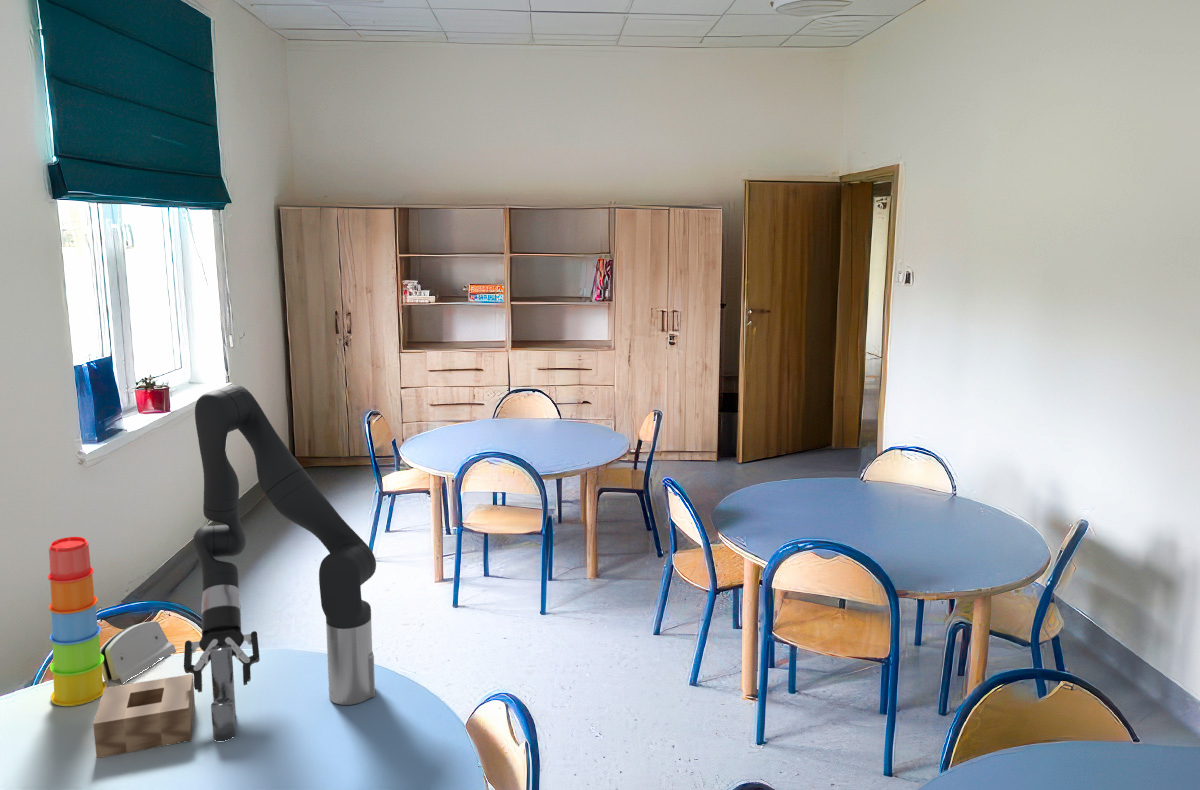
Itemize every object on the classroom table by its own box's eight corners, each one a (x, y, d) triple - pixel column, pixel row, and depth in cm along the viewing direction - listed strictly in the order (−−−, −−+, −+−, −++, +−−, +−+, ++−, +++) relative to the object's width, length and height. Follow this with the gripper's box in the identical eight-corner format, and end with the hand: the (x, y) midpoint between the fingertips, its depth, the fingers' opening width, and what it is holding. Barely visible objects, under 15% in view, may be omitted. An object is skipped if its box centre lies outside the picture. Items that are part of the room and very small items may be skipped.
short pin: (235, 728, 170) (233, 696, 168) (235, 739, 166) (233, 706, 165) (213, 732, 168) (211, 700, 167) (212, 743, 165) (210, 710, 163)
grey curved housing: (122, 685, 186) (106, 643, 185) (106, 689, 187) (89, 647, 186) (177, 650, 202) (162, 611, 201) (161, 654, 203) (146, 615, 202)
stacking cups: (111, 679, 188) (98, 529, 182) (101, 703, 178) (86, 545, 172) (58, 686, 184) (43, 534, 178) (44, 710, 175) (27, 550, 169)
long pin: (236, 709, 177) (231, 642, 174) (235, 719, 173) (231, 651, 170) (214, 713, 175) (210, 645, 172) (214, 723, 171) (209, 654, 169)
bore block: (194, 704, 178) (192, 673, 177) (190, 740, 165) (188, 707, 164) (107, 719, 172) (104, 687, 171) (96, 758, 159) (93, 723, 158)
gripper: (182, 609, 174) (181, 688, 166) (256, 599, 180) (260, 675, 171) (185, 622, 180) (185, 699, 172) (257, 613, 185) (261, 687, 177)
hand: (222, 687), depth 171 cm, fingers open, 8 cm apart
